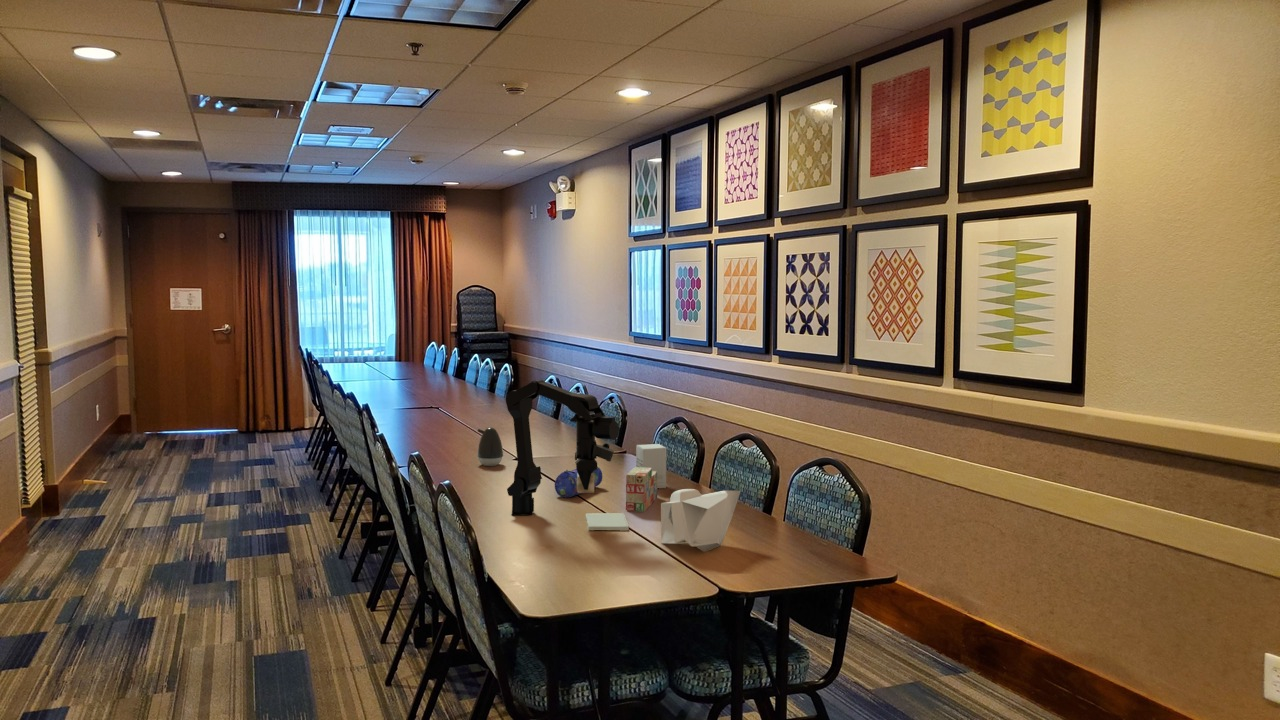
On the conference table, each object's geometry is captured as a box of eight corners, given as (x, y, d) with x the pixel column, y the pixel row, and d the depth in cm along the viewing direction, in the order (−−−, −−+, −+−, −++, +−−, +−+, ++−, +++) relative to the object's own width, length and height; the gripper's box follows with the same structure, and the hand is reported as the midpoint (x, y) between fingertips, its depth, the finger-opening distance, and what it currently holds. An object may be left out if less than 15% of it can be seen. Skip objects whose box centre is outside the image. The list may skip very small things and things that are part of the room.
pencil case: (573, 500, 313) (573, 472, 312) (551, 497, 317) (552, 470, 316) (603, 487, 333) (604, 461, 332) (583, 485, 336) (583, 459, 336)
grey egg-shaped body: (481, 462, 375) (481, 425, 374) (506, 463, 374) (506, 426, 373) (473, 466, 365) (473, 429, 364) (498, 468, 364) (499, 430, 363)
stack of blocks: (639, 496, 320) (640, 461, 319) (657, 497, 319) (657, 462, 318) (625, 511, 300) (626, 473, 299) (644, 512, 298) (644, 475, 297)
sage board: (588, 530, 274) (588, 526, 274) (585, 517, 290) (585, 513, 290) (628, 530, 276) (628, 526, 276) (623, 516, 292) (623, 513, 291)
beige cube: (577, 492, 278) (577, 476, 278) (577, 489, 283) (577, 473, 283) (594, 492, 279) (594, 476, 278) (593, 489, 284) (593, 473, 283)
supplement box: (658, 483, 341) (659, 443, 340) (666, 488, 333) (667, 447, 332) (635, 484, 339) (635, 444, 337) (642, 489, 330) (643, 448, 329)
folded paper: (654, 485, 260) (686, 503, 245) (725, 478, 272) (759, 494, 257) (651, 542, 263) (682, 564, 248) (721, 533, 274) (755, 553, 260)
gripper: (614, 441, 271) (614, 494, 273) (610, 432, 290) (610, 480, 291) (576, 442, 270) (576, 494, 271) (574, 432, 289) (574, 481, 290)
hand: (585, 487), depth 281 cm, fingers closed on beige cube, 5 cm apart
